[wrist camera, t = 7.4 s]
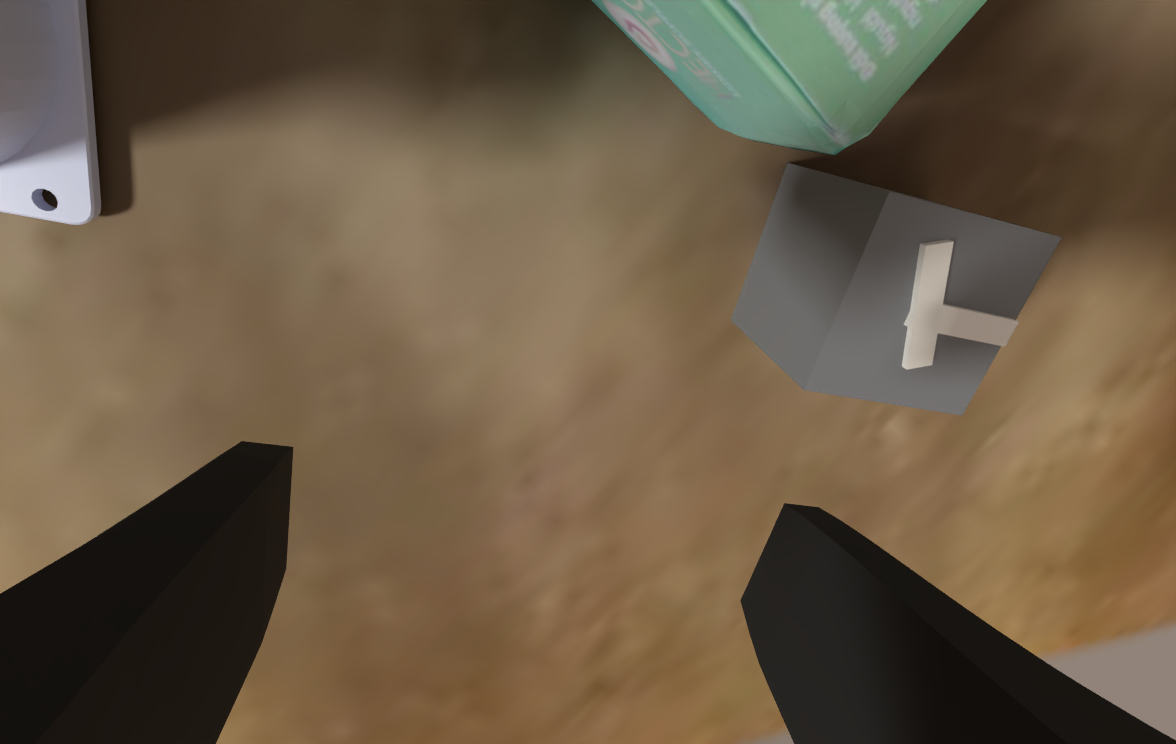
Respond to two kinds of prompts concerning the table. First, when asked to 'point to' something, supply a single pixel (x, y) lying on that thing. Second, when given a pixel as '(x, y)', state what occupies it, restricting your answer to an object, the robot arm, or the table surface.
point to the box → (793, 60)
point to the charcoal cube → (885, 291)
